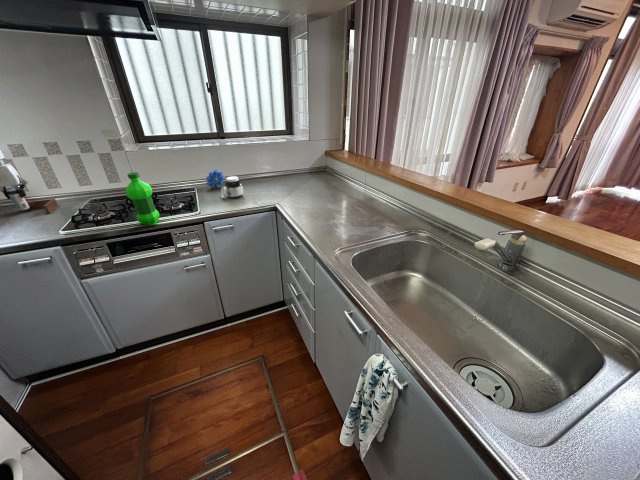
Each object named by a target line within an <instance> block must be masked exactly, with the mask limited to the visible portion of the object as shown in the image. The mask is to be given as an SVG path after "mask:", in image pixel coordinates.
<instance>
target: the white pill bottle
mask: <svg viewBox="0 0 640 480" xmlns="http://www.w3.org/2000/svg"><path fill="white" fill-rule="evenodd" d="M6 192H7V193H8V195H9V196H10V198H11V199H10V200H11V202H12V203H13V205H14V206H15V208H16V209H17V211H23V210H26V211H28V210H27V209H29V208H30V207H29V205H28V203H27V202H28V201H27V200H26V198H25V197H24V198H22V197H21V196H20V194H19V193H18V189H17V188H16V187H15V186H8V187H6Z"/></svg>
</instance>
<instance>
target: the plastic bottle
mask: <svg viewBox="0 0 640 480" xmlns="http://www.w3.org/2000/svg"><path fill="white" fill-rule="evenodd" d="M139 173H140V172H137V171H136V172H135V171H133V172H129V173H127V178H128V179H129V180H130V182H129V183H128V185H127V186H126V188H125V195H126V197H127V198H128V199H130V200H131V201H132V204H133V207H134V208H135V212H136V216H135V217H136V221H137V222H138V223H140V224H142V225H144V226H152V225H155V224H157V222H158V221H159V220H160V212H159V211H158V209H156V207H155V204H154V201H153V198H152V195H153V188H152V186H151V185H150V184H149V183H147V182H144V181H143V180H140V174H139Z"/></svg>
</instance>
